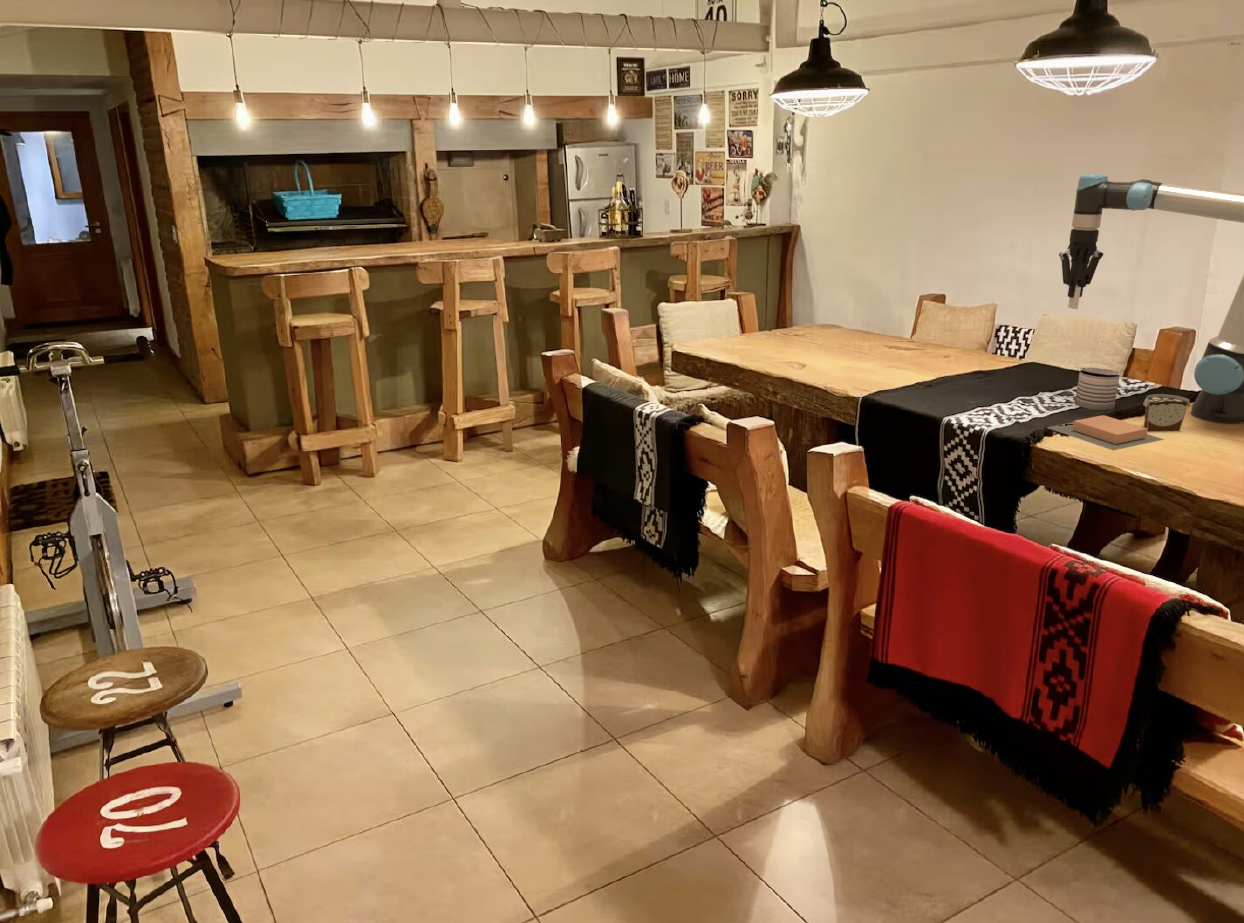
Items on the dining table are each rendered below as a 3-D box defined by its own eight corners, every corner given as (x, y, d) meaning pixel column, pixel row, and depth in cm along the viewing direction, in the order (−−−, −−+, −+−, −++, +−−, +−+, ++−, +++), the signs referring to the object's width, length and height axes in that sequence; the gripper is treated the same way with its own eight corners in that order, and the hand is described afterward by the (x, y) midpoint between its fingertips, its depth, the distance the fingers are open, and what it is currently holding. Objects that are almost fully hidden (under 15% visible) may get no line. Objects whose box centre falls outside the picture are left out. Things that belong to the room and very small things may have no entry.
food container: (1171, 426, 268) (1178, 393, 264) (1184, 433, 262) (1191, 399, 258) (1129, 427, 267) (1135, 394, 264) (1141, 434, 262) (1147, 400, 258)
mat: (1094, 420, 274) (1095, 418, 273) (1163, 442, 255) (1164, 439, 255) (1045, 430, 266) (1045, 427, 266) (1112, 452, 247) (1113, 450, 247)
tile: (1103, 415, 266) (1147, 428, 254) (1101, 425, 267) (1145, 438, 255) (1073, 420, 261) (1117, 434, 249) (1072, 430, 262) (1115, 445, 250)
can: (1065, 404, 290) (1071, 366, 286) (1093, 400, 294) (1099, 363, 289) (1094, 414, 280) (1101, 375, 276) (1123, 410, 284) (1130, 371, 279)
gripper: (1098, 226, 280) (1085, 305, 288) (1057, 227, 278) (1045, 306, 286) (1113, 229, 273) (1100, 309, 281) (1071, 230, 271) (1059, 310, 279)
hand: (1072, 307), depth 283 cm, fingers closed
